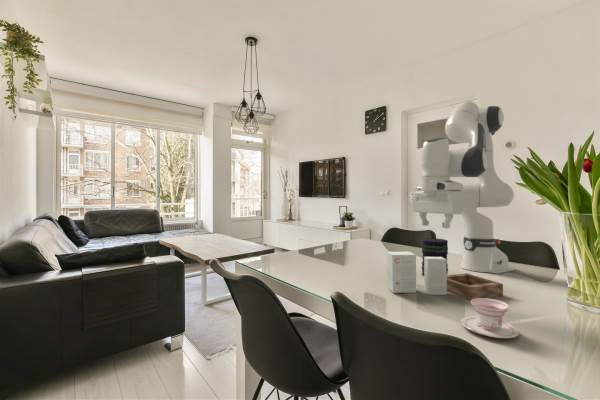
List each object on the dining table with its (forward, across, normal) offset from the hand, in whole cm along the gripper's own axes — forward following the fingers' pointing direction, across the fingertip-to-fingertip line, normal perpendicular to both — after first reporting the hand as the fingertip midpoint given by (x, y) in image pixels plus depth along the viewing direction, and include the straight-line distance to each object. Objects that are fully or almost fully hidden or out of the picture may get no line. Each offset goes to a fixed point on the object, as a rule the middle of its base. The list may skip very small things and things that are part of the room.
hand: (435, 226), depth 98 cm
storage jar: (+22, -18, +16) cm, 33 cm away
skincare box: (+23, 0, 0) cm, 23 cm away
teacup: (+23, +25, -6) cm, 35 cm away
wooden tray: (+22, +2, +12) cm, 26 cm away
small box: (+23, -6, -9) cm, 25 cm away
